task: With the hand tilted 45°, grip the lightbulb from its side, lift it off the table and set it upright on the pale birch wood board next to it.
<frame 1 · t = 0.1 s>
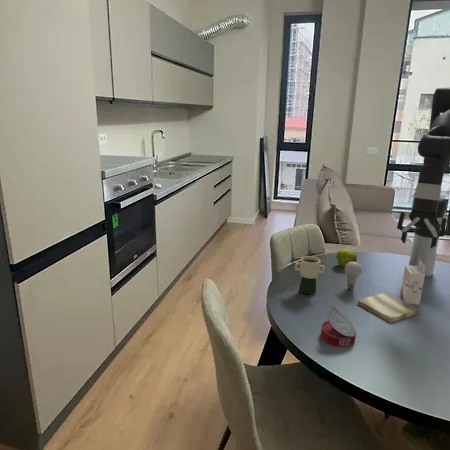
hand: (417, 245, 128), 22 cm above the table, tool pointing down, fingers open, 8 cm apart
birch board: (387, 308, 131), on the table
apple: (344, 266, 168), on the table
ink cartridge box: (409, 299, 139), on the table
lightbulb: (350, 289, 146), on the table
character mug: (307, 292, 142), on the table
canned food: (337, 338, 113), on the table
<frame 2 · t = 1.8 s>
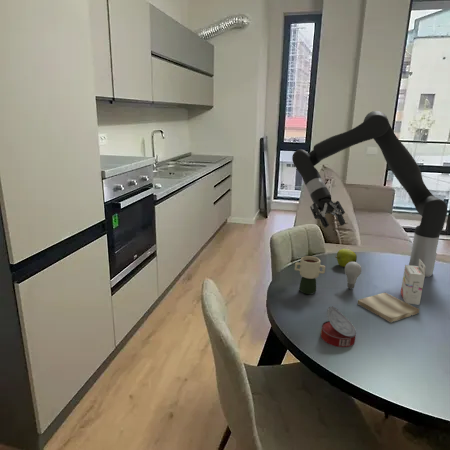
hand: (335, 225, 149), 22 cm above the table, tool tilted 45°, fingers open, 8 cm apart
nothing on the table moved.
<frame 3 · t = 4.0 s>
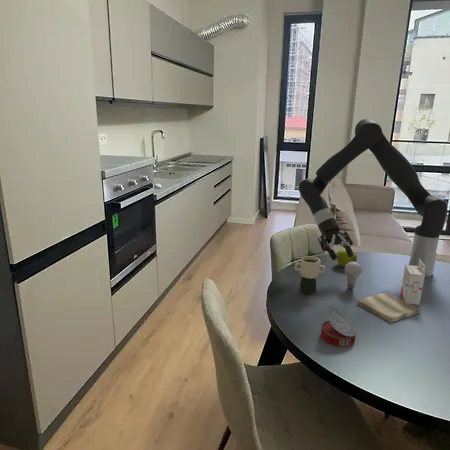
hand: (343, 257, 147), 11 cm above the table, tool tilted 45°, fingers open, 8 cm apart
nothing on the table moved.
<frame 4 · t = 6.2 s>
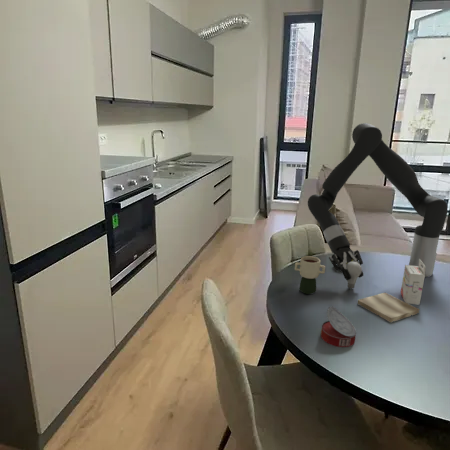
hand: (355, 277, 142), 5 cm above the table, tool tilted 45°, fingers closed on lightbulb, 5 cm apart
lightbulb: (350, 289, 145), on the table, touching gripper
everything else where it was.
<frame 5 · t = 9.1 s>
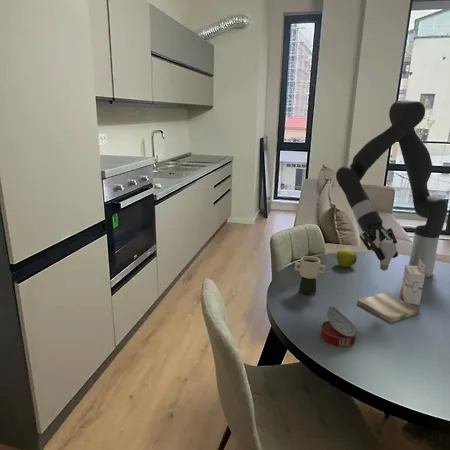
hand: (389, 258, 128), 18 cm above the table, tool tilted 45°, fingers closed on lightbulb, 5 cm apart
lightbulb: (383, 271, 131), point 12 cm above the table, touching gripper
everything else where it was.
when the fingers open (8 cm above the table, at t = 12.3 s): lightbulb drops 1 cm, resting on birch board.
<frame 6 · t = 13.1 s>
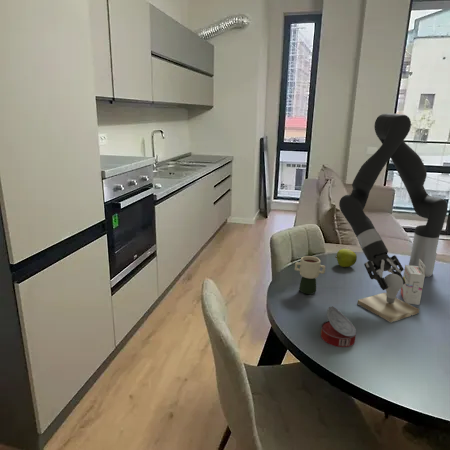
hand: (394, 286, 128), 9 cm above the table, tool tilted 45°, fingers open, 8 cm apart
lightbulb: (389, 303, 132), point 1 cm above the table, touching birch board, gripper
everything else where it was.
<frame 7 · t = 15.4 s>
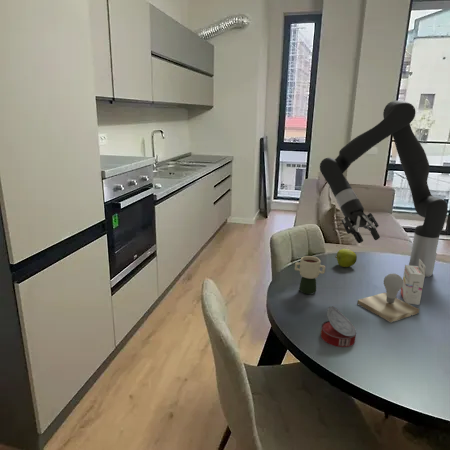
hand: (369, 240, 137), 20 cm above the table, tool tilted 45°, fingers open, 8 cm apart
lightbulb: (389, 304, 132), point 1 cm above the table, touching birch board
everything else where it was.
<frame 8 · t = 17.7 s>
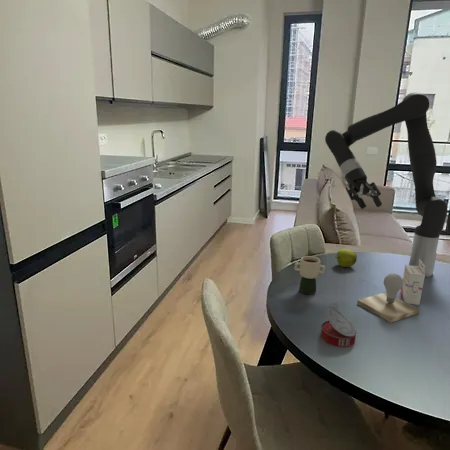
hand: (372, 206, 145), 31 cm above the table, tool tilted 45°, fingers open, 8 cm apart
nothing on the table moved.
at the end: lightbulb inside the target area on the birch board (1.2 cm from its centre), point 1.3 cm above the birch board's base; lightbulb tilted 0°; the gripper is holding nothing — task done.
